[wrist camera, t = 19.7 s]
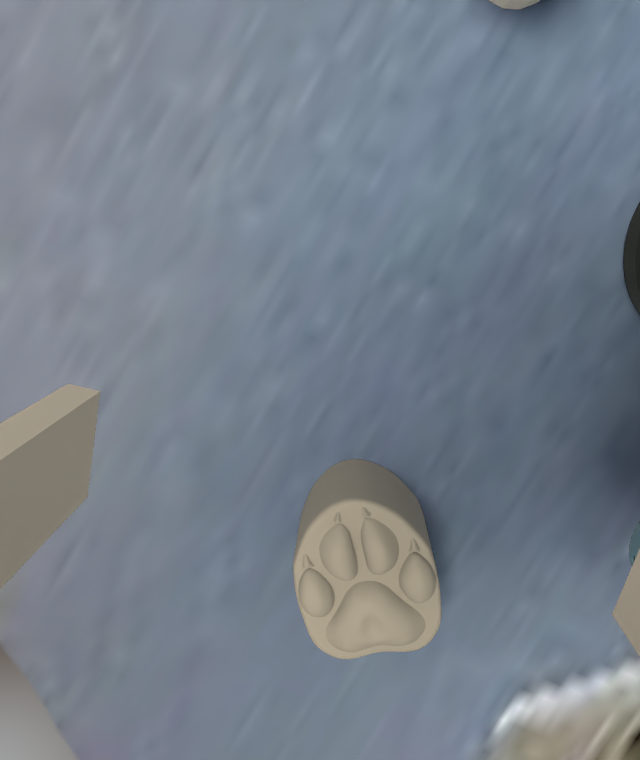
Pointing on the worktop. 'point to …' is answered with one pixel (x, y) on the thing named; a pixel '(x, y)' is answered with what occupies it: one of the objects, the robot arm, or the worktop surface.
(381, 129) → the worktop surface
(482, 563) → the worktop surface
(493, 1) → the shot glass
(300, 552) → the lumpy-topped squat cylinder
